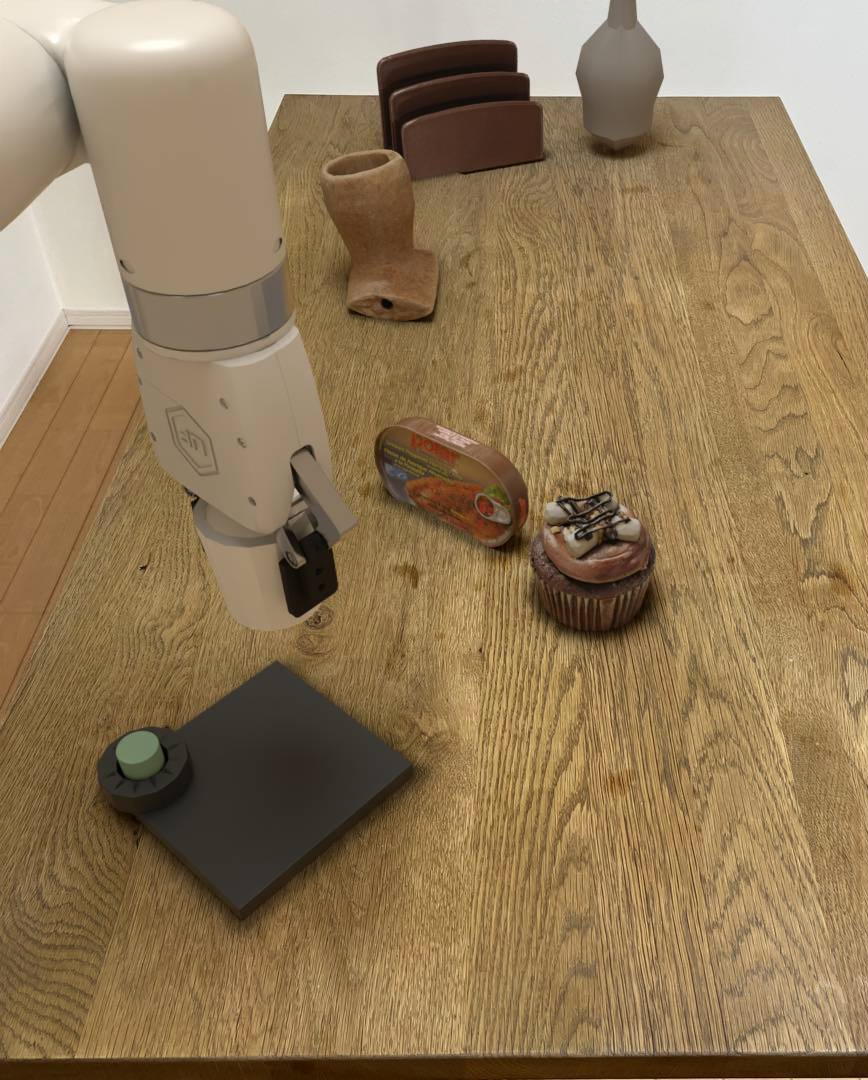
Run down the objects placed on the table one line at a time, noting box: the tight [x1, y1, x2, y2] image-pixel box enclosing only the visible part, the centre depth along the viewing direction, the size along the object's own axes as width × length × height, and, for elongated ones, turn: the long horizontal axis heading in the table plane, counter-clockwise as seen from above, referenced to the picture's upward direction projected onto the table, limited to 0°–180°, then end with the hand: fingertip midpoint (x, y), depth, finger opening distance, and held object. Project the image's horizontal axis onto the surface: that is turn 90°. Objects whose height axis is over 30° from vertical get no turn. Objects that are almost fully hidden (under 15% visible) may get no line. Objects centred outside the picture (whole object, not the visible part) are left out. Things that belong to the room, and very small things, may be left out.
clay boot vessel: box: [319, 148, 440, 322], centre depth 118 cm, size 15×12×15 cm
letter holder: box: [376, 39, 545, 181], centre depth 147 cm, size 10×20×14 cm, turn 113°
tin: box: [373, 415, 530, 548], centre depth 91 cm, size 15×3×8 cm, turn 53°
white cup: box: [192, 489, 323, 632], centre depth 63 cm, size 7×7×7 cm
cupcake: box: [528, 490, 658, 633], centre depth 83 cm, size 10×10×10 cm
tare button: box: [116, 731, 165, 781], centre depth 70 cm, size 3×3×2 cm
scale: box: [96, 660, 414, 921], centre depth 72 cm, size 15×15×4 cm
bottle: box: [575, 0, 665, 152], centre depth 144 cm, size 11×11×30 cm
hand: (270, 570), depth 64 cm, fingers closed on white cup, 6 cm apart
